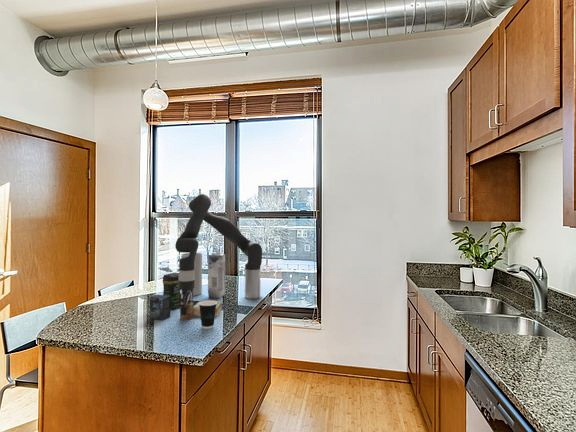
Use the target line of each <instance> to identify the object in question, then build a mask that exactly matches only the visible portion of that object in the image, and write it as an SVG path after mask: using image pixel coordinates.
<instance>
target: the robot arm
mask: <svg viewBox="0 0 576 432" xmlns="http://www.w3.org/2000/svg"><path fill="white" fill-rule="evenodd" d="M211 206H212V200H211V198H210V196H208V194H205V193H200V194H198V195H196V197H194V198H193V199H192V200H191V201H190V202H188V208H189V209H190V211H191V212H192V215H191V216H190V218H189V220H188V221H187V222H186V224H185V227H184V230H183V232H182V233H181V234H180V235H179V237H178V238H177V239H176V242H175V248H174V249H175V250H176V251H177V252H178V253H181V254H184V253H190V254H189V256H188V257H183V258H180V259H179V261H178V263H179V265H178V268H179V271H178V273H179V281H178V289H179V290H180V291H181V290H182V293H181V294H180V295H179V307H178V308H180V307H181V315H186V305H187V303H188V302H193V299H194V296H193V289H194V288H195V272H194V261H195V256H196V253H198V252H197V251H198V248H199V241H198V239H197V238H198V236H199V233H200V229H201V227H202V224H203V221H204V222H206V223H207V224H208V225H210V226H211V227H212V228H214V229H215V230H216V231H217V232H218V233H219V234H221V235H222V237H224V238H225V239H226V240H228V241H230V242H231V243H233V245H235V246H236V247H237V248H238V249H239V250H240V251H241V252H242V253H243V254H244V255H245V256H247V261H246V263H245V267H244V298H246V299H250V300H251V299H261V267H262V263H263V260H262V259H263V249H262V245H261V244H260V243H257V242H253V241H251V240H250V239H248V238H247V237H245V235H243V234H242V232H241V231H240V229H239V228H238V226H237V225H236V224H235V223H233V222H232V221H231V219H228V218H226V217H224V216H219V215H215V214H213V213H211V212H210V211H209V210H210V208H211Z"/></svg>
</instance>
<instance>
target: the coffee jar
mask: <svg viewBox="0 0 576 432" xmlns="http://www.w3.org/2000/svg"><path fill="white" fill-rule="evenodd" d="M178 281H179V272H171V273H166V274H163V276H162V284H163V290H162V291H163V293H162V295H166V296H170V311H171V310H174V309H175V310H176V309H178V308H180V307H179V295H180V294H181V290H179V289H178Z"/></svg>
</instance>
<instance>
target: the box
mask: <svg viewBox="0 0 576 432" xmlns="http://www.w3.org/2000/svg"><path fill="white" fill-rule="evenodd" d="M170 317H171V310H170V296H166V295H163V294H155V295H152V296H149V319H151V320H152V319H153V320H159V321H165V320H167V319H168V318H170Z"/></svg>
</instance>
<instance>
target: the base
mask: <svg viewBox="0 0 576 432" xmlns="http://www.w3.org/2000/svg"><path fill="white" fill-rule="evenodd" d="M201 301H202V300H201ZM201 301H200V300H199V301H198V302H197V303H195V305H193V317H201V315H200V305H199V302H201ZM215 301H216V300H215ZM216 302H217V304H216V310H215V317H218V315H220V312H221V311H222V305H223V304H222V303H223V301H218V300H217V301H216Z"/></svg>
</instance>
